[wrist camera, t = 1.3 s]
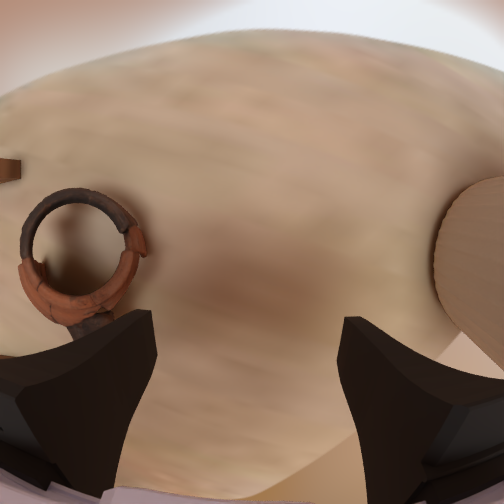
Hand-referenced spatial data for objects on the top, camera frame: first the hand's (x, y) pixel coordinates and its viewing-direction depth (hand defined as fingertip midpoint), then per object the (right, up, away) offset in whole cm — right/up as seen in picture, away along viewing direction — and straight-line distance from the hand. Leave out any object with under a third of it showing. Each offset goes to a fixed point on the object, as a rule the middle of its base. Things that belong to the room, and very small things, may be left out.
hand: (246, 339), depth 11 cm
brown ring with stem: (-12, +2, +11) cm, 16 cm away
